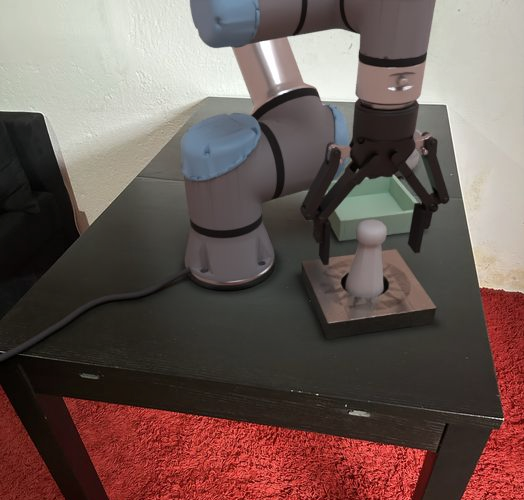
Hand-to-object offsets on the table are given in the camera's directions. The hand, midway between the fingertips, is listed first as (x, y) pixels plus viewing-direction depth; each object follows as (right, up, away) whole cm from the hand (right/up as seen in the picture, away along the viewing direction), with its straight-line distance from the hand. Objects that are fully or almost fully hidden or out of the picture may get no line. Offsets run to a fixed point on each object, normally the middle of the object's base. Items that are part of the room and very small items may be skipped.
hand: (368, 254), depth 76 cm
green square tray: (+5, +12, +25) cm, 28 cm away
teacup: (+13, +26, +40) cm, 50 cm away
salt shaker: (0, -6, +6) cm, 8 cm away
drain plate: (0, -6, +6) cm, 8 cm away
